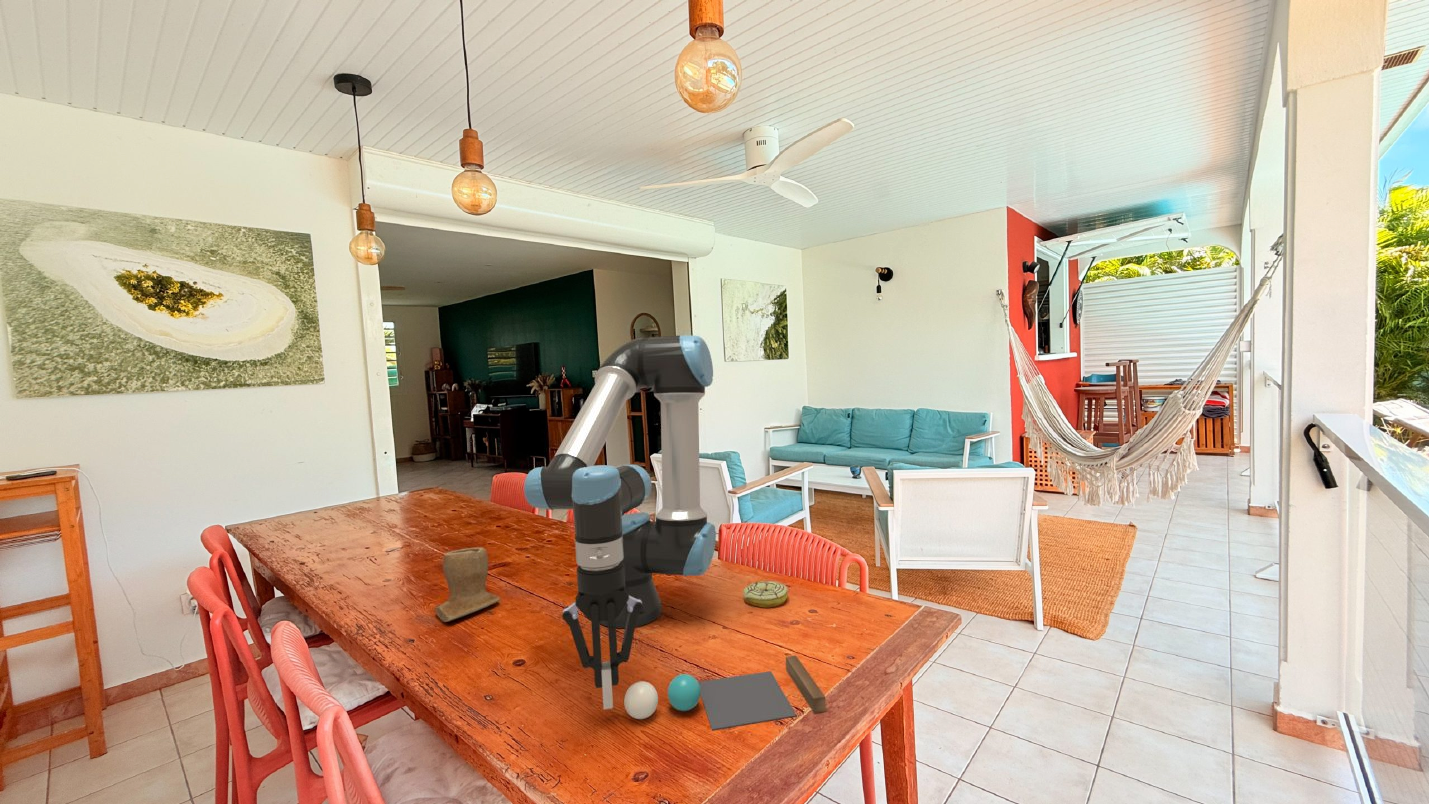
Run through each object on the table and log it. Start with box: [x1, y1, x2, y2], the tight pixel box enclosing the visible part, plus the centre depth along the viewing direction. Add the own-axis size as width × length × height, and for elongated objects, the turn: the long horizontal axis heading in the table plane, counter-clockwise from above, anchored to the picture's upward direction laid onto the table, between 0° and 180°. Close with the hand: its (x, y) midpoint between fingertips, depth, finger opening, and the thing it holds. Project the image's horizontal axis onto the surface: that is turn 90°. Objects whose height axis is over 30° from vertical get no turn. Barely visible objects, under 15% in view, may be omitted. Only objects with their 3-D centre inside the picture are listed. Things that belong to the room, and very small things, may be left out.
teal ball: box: [667, 673, 701, 712], centre depth 95 cm, size 6×6×6 cm
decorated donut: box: [743, 580, 789, 609], centre depth 138 cm, size 10×11×4 cm
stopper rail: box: [785, 654, 827, 714], centre depth 99 cm, size 2×14×2 cm, turn 12°
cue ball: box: [623, 680, 659, 720], centre depth 93 cm, size 6×6×6 cm
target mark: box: [698, 670, 798, 731], centre depth 97 cm, size 14×14×1 cm
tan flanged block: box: [434, 547, 501, 623], centre depth 138 cm, size 15×12×15 cm
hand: (608, 703), depth 93 cm, fingers closed
